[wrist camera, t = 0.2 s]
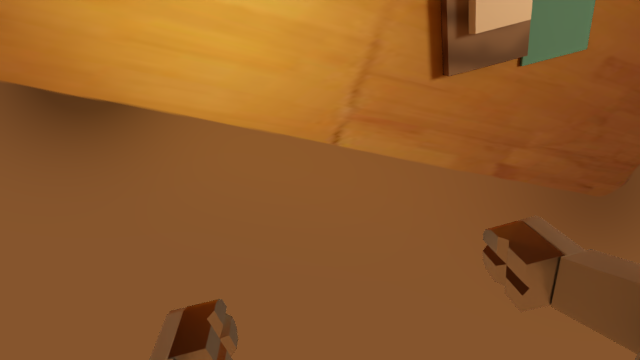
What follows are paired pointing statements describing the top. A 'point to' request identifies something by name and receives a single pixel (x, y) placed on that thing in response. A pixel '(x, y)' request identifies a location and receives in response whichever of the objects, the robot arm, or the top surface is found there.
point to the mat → (558, 28)
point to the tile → (497, 14)
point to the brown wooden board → (477, 40)
